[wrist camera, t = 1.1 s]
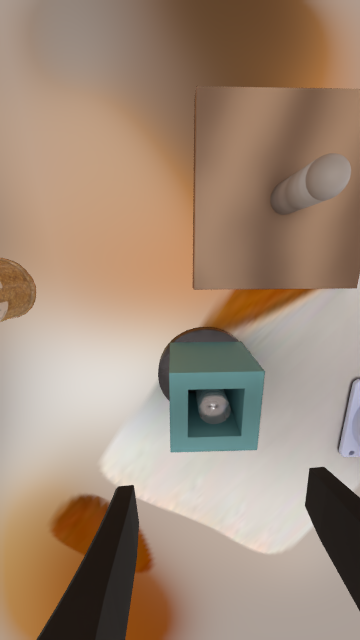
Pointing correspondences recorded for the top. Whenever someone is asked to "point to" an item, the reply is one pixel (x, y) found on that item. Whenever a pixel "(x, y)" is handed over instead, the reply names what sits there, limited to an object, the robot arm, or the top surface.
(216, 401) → the round base with peg
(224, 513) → the top surface
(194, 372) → the teal collar
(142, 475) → the top surface
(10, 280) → the sprinkles bottle
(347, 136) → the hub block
